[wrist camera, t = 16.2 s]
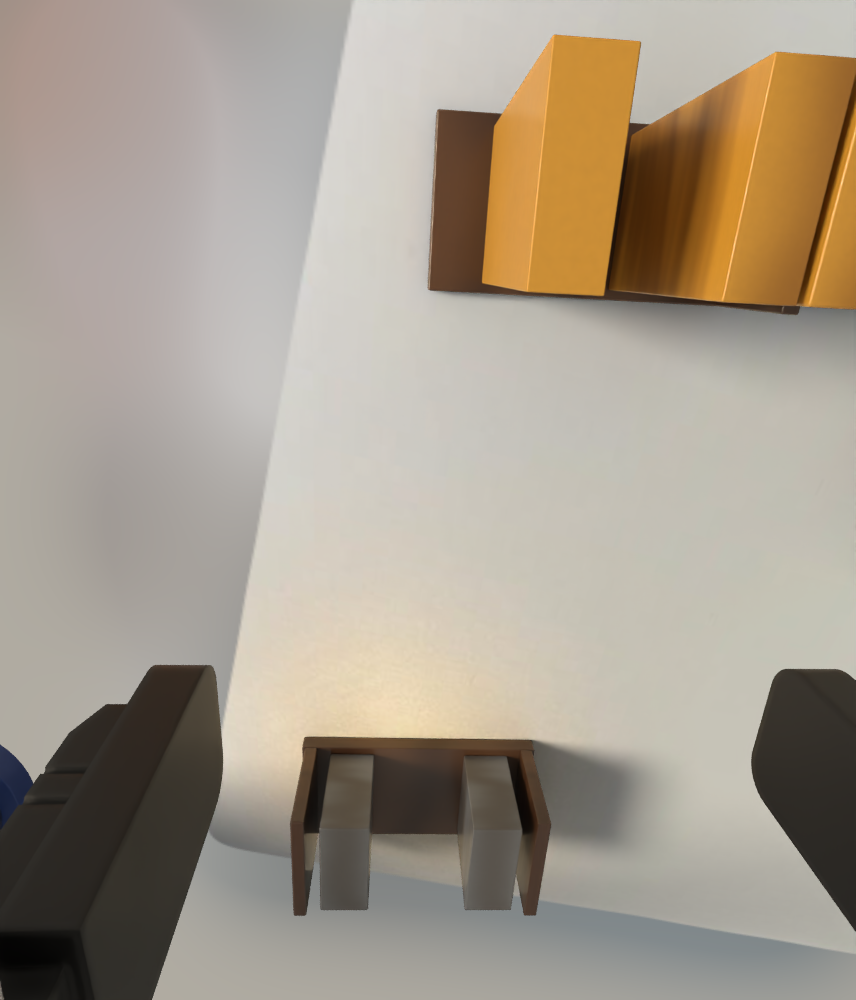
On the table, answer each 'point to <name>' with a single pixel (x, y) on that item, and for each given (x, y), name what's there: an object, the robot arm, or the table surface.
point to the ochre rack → (698, 195)
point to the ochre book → (560, 168)
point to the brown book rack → (419, 814)
